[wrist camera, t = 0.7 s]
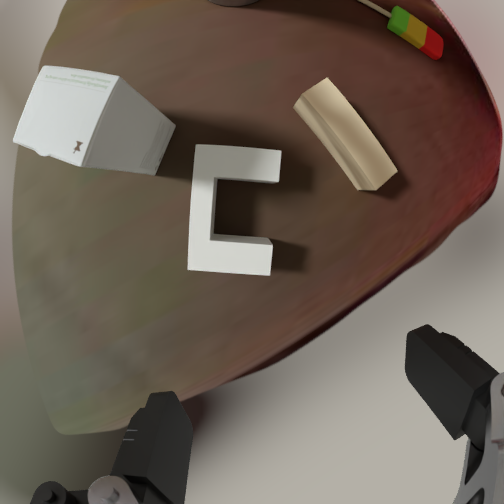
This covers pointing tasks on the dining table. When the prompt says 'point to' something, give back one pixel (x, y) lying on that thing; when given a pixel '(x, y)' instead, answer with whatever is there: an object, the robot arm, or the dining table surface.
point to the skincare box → (93, 122)
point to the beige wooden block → (345, 136)
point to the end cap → (204, 201)
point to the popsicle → (412, 30)
